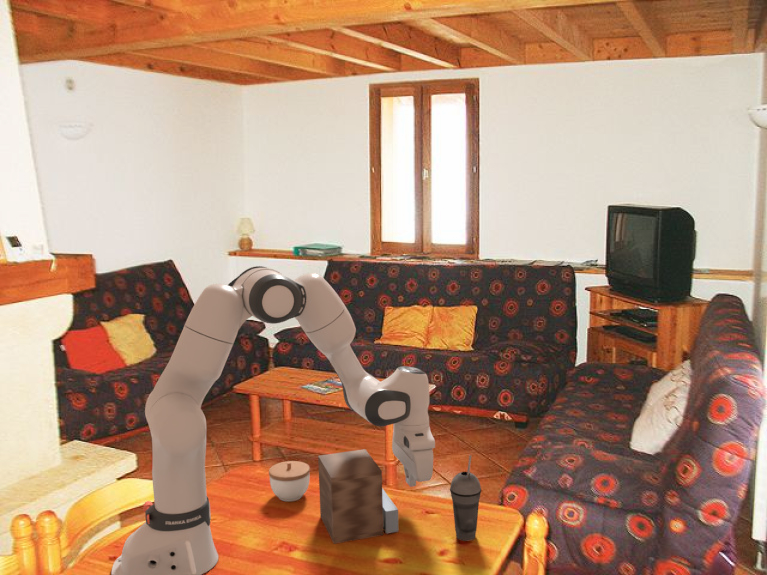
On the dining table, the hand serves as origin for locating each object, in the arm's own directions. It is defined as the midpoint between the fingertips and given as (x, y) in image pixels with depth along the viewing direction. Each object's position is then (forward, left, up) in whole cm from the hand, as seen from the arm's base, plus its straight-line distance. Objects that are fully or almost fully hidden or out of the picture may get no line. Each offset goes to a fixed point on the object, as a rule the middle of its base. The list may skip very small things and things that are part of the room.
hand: (410, 484), depth 183 cm
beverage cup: (+8, -16, -7) cm, 19 cm away
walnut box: (-16, -2, -7) cm, 18 cm away
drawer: (-14, -2, -7) cm, 15 cm away
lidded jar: (-27, +19, -7) cm, 34 cm away
